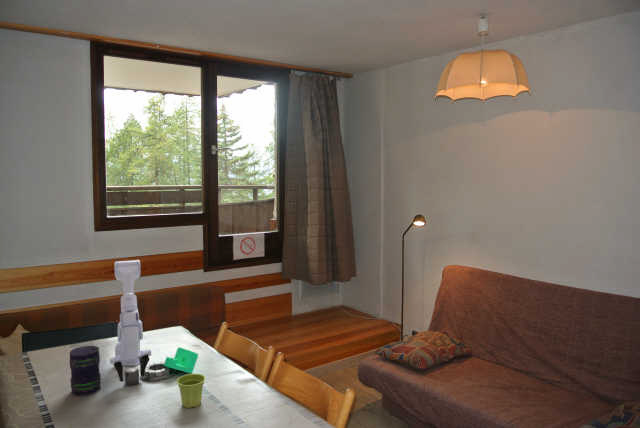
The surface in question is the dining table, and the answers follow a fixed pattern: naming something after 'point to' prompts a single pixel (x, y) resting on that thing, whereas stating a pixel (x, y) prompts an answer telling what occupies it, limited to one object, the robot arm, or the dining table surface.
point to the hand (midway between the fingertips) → (131, 378)
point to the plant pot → (191, 389)
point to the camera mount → (182, 360)
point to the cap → (132, 377)
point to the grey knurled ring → (157, 372)
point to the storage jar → (85, 370)
